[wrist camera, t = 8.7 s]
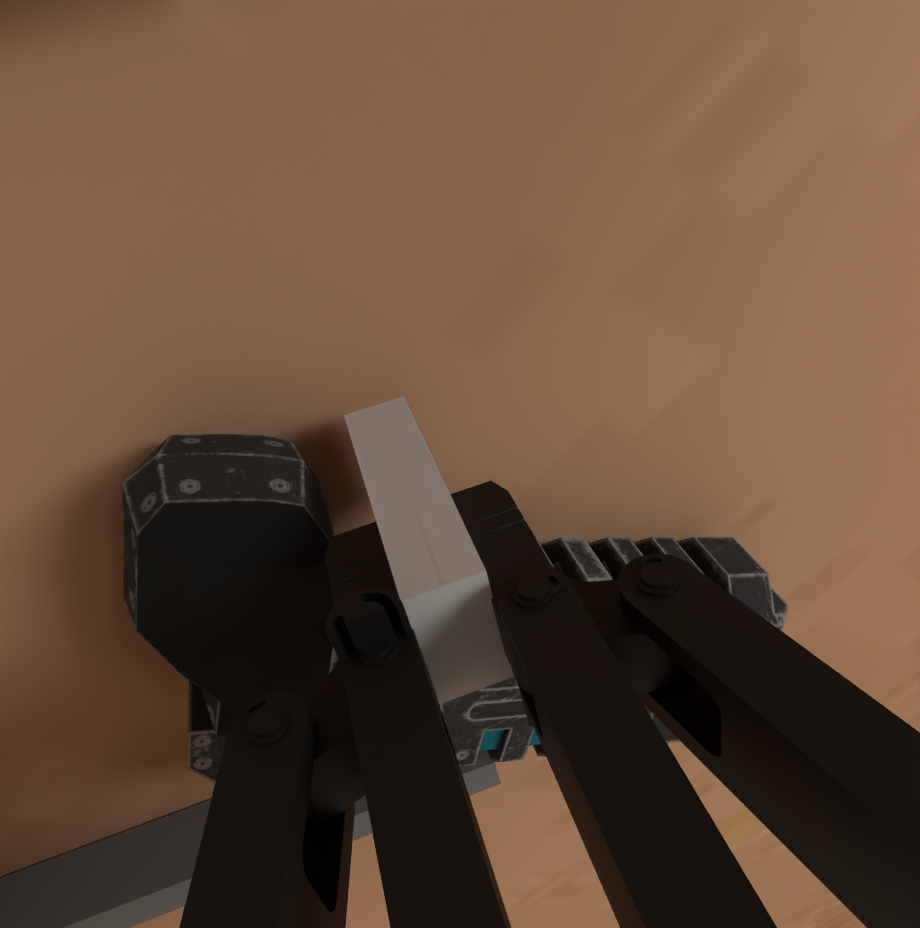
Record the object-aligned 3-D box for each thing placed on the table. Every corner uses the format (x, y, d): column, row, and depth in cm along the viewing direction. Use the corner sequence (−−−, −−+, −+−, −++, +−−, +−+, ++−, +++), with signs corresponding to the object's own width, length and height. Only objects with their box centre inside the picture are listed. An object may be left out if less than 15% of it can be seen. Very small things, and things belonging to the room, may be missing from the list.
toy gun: (109, 507, 14) (119, 843, 19) (886, 512, 20) (747, 761, 25) (128, 403, 17) (132, 709, 22) (787, 437, 24) (681, 668, 29)
